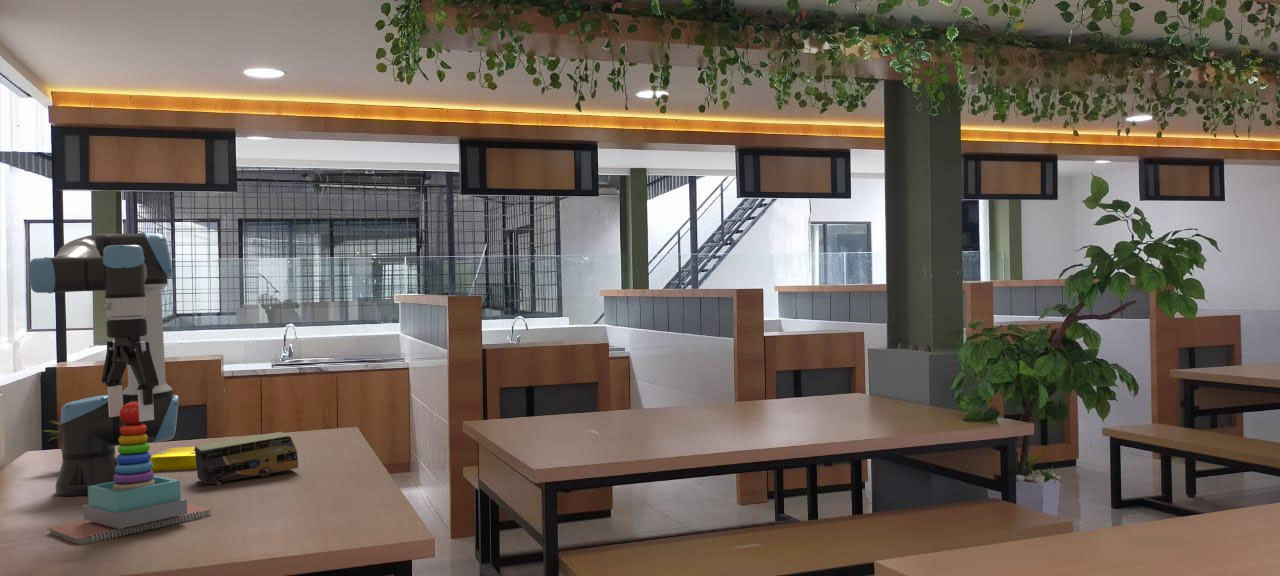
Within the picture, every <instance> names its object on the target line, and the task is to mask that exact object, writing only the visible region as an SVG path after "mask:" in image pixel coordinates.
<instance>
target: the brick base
mask: <svg viewBox="0 0 1280 576" xmlns="http://www.w3.org/2000/svg"><path fill="white" fill-rule="evenodd" d="M152 479H153V480H154V481H155V485H149V486H144V487H139V488H134V489H129V490H124V491H115V490H113V485H114V484H115V482H108V483H103V484H98V485H92V486H88V495H87V497H88V498H87V501H88V502H87V504H82V512H83V513H82V514H83V517H82V518H83V520H88V521H92V522H95V523H99V524H103V525H106V526H110V527H113V528H117V529H121V528H125V527H130V526H134V525H139V524H143V523H148V522H152V521H156V520H161V519H165V518H170V517H174V516H178V515H183V514H187V503H188V501H187V500H188V499H186V498H182V497H181V496H182V494H181V480H179V479H173V478H169V477H164V476H159V475H154V474H153V478H152Z"/></svg>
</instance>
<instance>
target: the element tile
mask: <svg viewBox="0 0 1280 576" xmlns="http://www.w3.org/2000/svg"><path fill="white" fill-rule="evenodd" d="M149 461H151V462H152V468H151V471H152V472H164V471H165V472H166V471H181V470H182V471H183V470H184V471H185V470H197V466H196V456H195V446H187V447H186V446H185V447H184V446H183V447H170V448H166V449H164V450H163V451H159V452H157V453H155V454H153V455H151V458H150V460H149Z"/></svg>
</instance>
